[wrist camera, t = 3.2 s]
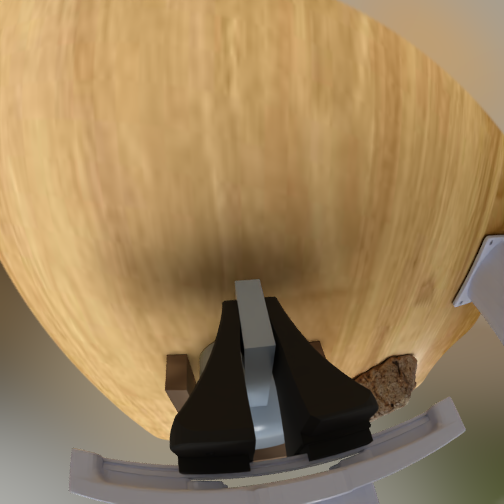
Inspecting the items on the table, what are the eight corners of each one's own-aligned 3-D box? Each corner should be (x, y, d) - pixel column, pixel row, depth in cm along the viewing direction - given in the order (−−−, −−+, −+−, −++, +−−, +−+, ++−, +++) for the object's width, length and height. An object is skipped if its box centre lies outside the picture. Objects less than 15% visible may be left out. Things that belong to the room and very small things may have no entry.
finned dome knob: (307, 257, 15) (353, 353, 9) (284, 376, 22) (300, 442, 17) (177, 266, 14) (167, 374, 9) (205, 384, 21) (209, 453, 16)
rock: (390, 345, 23) (414, 391, 18) (424, 356, 27) (443, 391, 23) (292, 413, 29) (302, 453, 25) (341, 414, 34) (352, 446, 29)
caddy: (319, 341, 20) (347, 421, 14) (300, 392, 25) (316, 452, 19) (167, 355, 18) (164, 443, 13) (188, 403, 24) (191, 466, 18)
